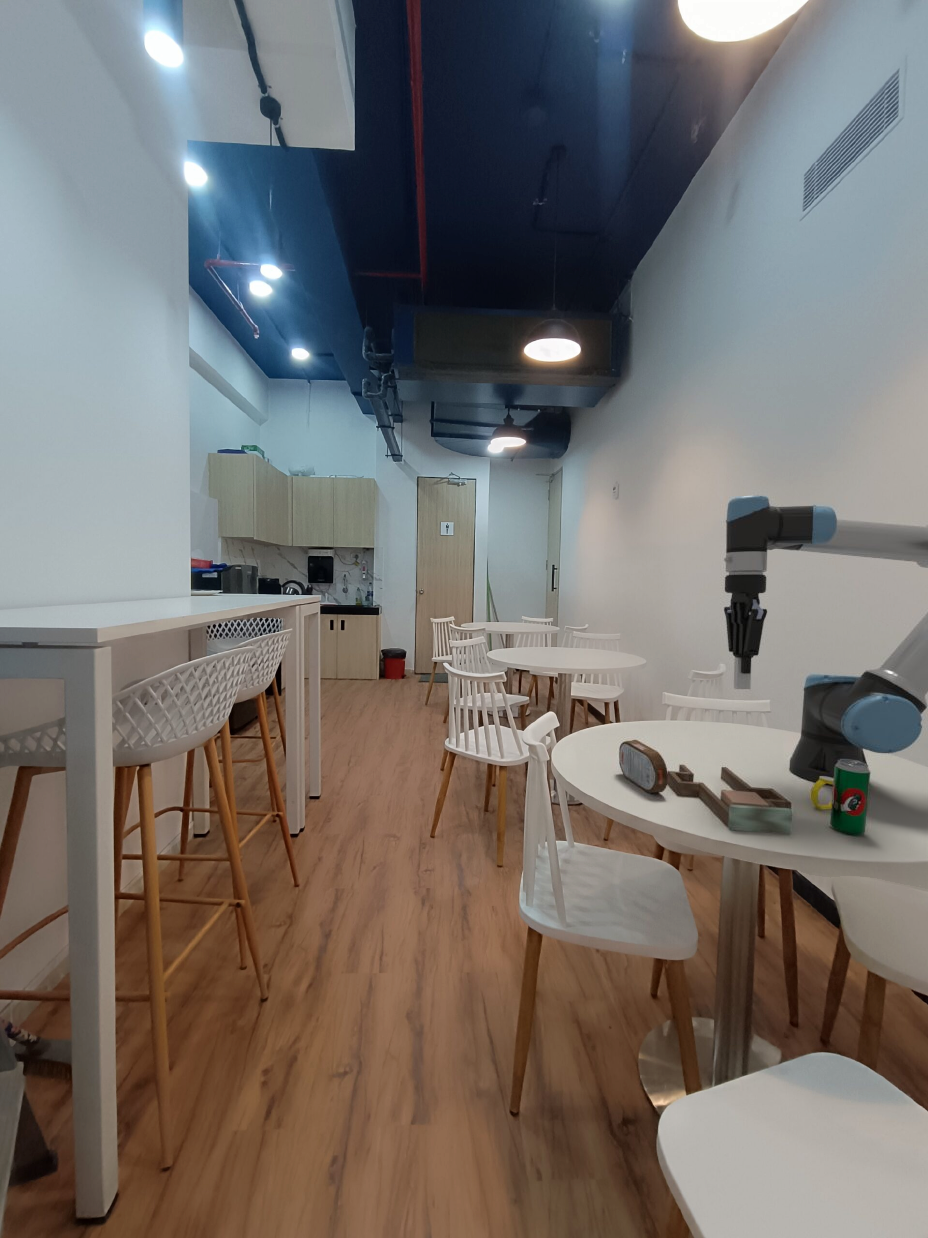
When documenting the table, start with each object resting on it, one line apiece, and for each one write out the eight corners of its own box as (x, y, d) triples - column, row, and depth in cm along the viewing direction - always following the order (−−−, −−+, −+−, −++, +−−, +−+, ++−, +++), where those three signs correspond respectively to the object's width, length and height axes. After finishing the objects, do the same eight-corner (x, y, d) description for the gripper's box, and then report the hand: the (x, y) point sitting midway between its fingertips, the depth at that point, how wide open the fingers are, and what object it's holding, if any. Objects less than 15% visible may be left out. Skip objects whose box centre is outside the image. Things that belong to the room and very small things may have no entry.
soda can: (872, 835, 95) (878, 766, 94) (849, 838, 93) (855, 768, 93) (844, 823, 100) (850, 757, 99) (822, 825, 98) (828, 758, 97)
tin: (668, 799, 108) (670, 756, 107) (653, 799, 107) (656, 757, 107) (628, 772, 123) (630, 735, 122) (615, 773, 122) (617, 735, 121)
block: (753, 813, 103) (755, 792, 103) (767, 827, 97) (769, 805, 97) (719, 810, 103) (721, 789, 103) (731, 824, 98) (733, 802, 97)
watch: (830, 806, 108) (834, 776, 108) (843, 812, 106) (847, 781, 105) (805, 805, 107) (809, 775, 107) (817, 811, 104) (822, 780, 104)
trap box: (744, 779, 121) (745, 761, 121) (815, 835, 94) (817, 812, 94) (660, 774, 122) (661, 756, 122) (706, 828, 95) (707, 805, 95)
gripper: (712, 574, 120) (709, 683, 121) (743, 572, 107) (739, 694, 108) (747, 574, 120) (744, 683, 121) (782, 573, 107) (777, 694, 108)
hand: (741, 688), depth 115 cm, fingers closed
